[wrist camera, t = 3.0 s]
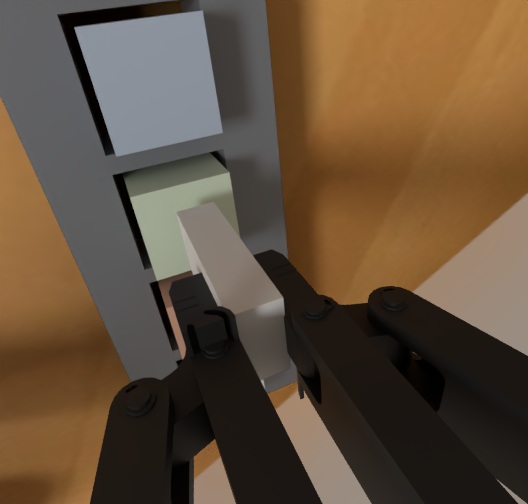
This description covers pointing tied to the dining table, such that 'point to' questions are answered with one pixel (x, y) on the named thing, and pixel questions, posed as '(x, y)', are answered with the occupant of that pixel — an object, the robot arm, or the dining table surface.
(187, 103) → the key slate
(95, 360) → the dining table surface
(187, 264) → the key sage
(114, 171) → the keypad
